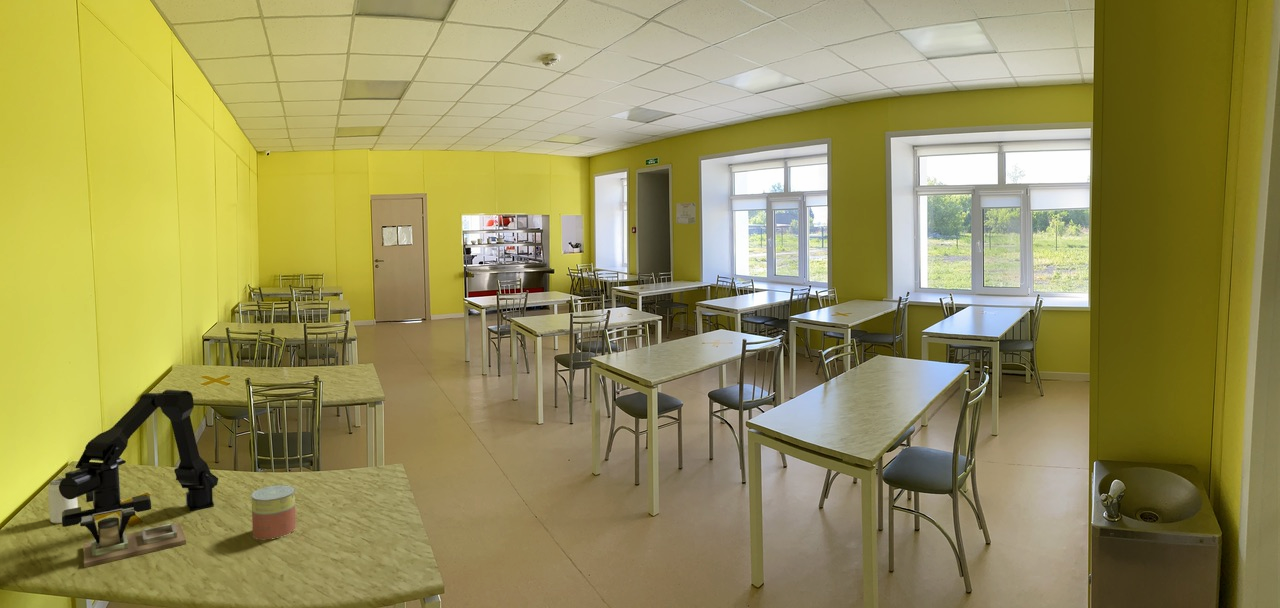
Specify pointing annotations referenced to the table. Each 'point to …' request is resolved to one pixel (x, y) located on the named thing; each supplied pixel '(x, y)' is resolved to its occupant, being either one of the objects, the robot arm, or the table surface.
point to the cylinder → (108, 532)
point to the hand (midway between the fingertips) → (109, 540)
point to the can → (58, 502)
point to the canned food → (273, 511)
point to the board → (135, 544)
